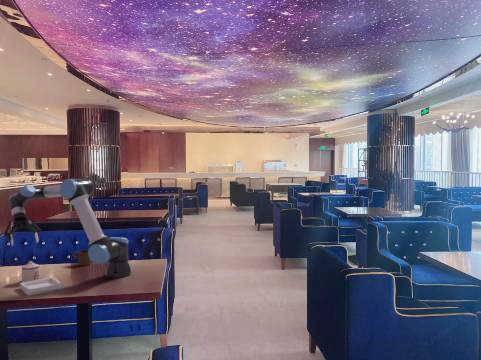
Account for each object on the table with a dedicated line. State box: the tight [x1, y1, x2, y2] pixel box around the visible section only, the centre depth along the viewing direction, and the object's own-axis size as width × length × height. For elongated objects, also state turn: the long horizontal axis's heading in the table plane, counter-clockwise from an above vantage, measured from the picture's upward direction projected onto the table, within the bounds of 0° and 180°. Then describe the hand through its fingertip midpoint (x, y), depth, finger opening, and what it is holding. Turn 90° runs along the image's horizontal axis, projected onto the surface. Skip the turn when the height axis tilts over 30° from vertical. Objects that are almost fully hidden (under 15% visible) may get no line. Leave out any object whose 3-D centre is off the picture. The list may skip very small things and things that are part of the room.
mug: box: [72, 249, 92, 267], centre depth 271 cm, size 12×8×9 cm, turn 93°
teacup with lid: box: [21, 260, 40, 283], centre depth 232 cm, size 12×9×12 cm
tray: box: [19, 277, 64, 297], centre depth 217 cm, size 17×17×3 cm
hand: (25, 243), depth 240 cm, fingers open, 13 cm apart
